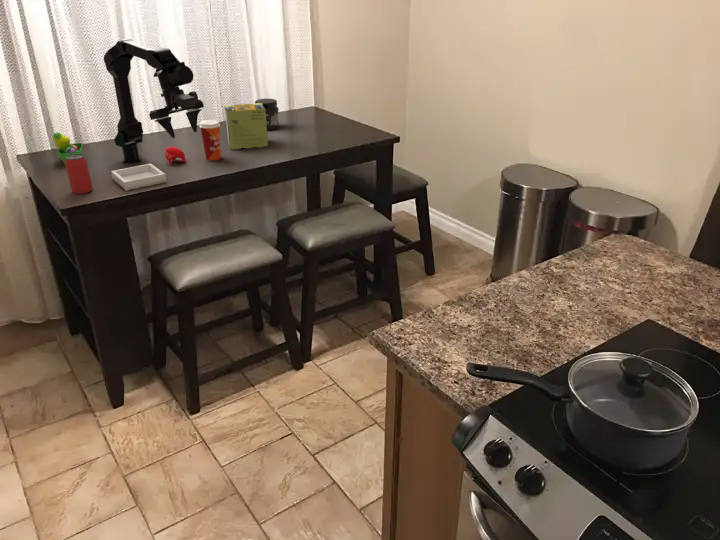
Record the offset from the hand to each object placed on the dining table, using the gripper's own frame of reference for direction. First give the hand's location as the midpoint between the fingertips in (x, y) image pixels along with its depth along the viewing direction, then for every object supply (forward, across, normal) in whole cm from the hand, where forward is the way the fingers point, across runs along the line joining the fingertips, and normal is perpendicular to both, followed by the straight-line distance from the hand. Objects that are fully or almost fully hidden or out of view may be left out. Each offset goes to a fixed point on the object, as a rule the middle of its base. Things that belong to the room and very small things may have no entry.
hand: (184, 135), depth 207 cm
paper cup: (+12, +20, +14) cm, 27 cm away
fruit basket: (+1, -15, +54) cm, 55 cm away
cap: (+10, +8, +22) cm, 25 cm away
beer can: (+10, -30, +22) cm, 39 cm away
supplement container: (+9, +64, +27) cm, 70 cm away
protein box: (+12, +40, +16) cm, 45 cm away
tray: (+12, -13, +16) cm, 23 cm away
